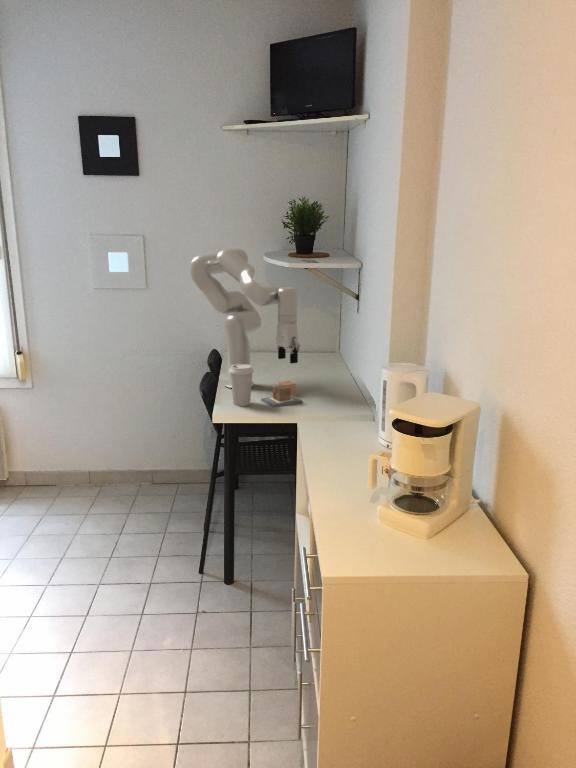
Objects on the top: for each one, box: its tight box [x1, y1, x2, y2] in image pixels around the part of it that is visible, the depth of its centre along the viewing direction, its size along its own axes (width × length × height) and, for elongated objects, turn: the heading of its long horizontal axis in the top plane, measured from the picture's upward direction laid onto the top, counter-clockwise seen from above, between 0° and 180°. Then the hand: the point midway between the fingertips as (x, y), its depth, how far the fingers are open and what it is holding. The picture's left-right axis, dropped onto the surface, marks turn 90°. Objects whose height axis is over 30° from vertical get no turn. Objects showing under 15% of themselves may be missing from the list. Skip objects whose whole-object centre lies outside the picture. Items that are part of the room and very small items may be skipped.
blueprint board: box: [260, 394, 303, 408], centre depth 257 cm, size 10×13×1 cm
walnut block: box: [272, 384, 290, 401], centre depth 257 cm, size 5×5×5 cm
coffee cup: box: [229, 364, 254, 407], centre depth 253 cm, size 10×10×15 cm
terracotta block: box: [278, 380, 296, 396], centre depth 267 cm, size 5×5×5 cm
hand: (287, 360), depth 264 cm, fingers open, 9 cm apart
